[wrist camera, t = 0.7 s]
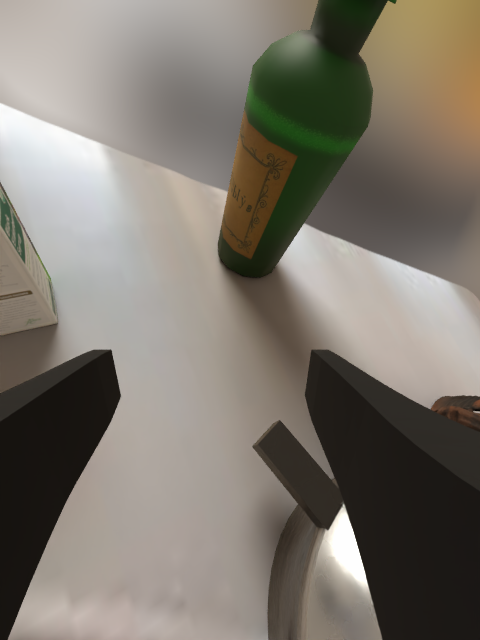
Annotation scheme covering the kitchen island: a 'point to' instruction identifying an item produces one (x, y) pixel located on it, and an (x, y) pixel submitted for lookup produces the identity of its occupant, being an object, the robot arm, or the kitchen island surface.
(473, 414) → the pottery mug
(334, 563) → the cooker lid
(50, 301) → the syrup box
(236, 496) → the kitchen island surface
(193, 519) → the kitchen island surface
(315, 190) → the bottle
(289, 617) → the cooker pot
